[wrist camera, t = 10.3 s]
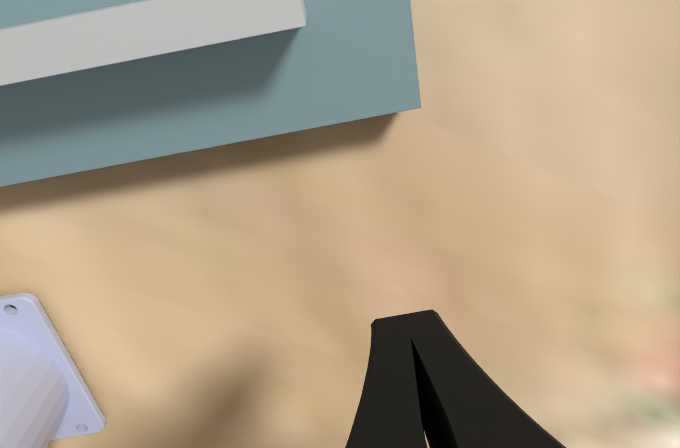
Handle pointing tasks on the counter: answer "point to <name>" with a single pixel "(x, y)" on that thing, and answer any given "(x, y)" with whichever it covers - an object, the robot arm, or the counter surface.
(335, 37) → the board
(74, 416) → the robot arm
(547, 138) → the counter surface
